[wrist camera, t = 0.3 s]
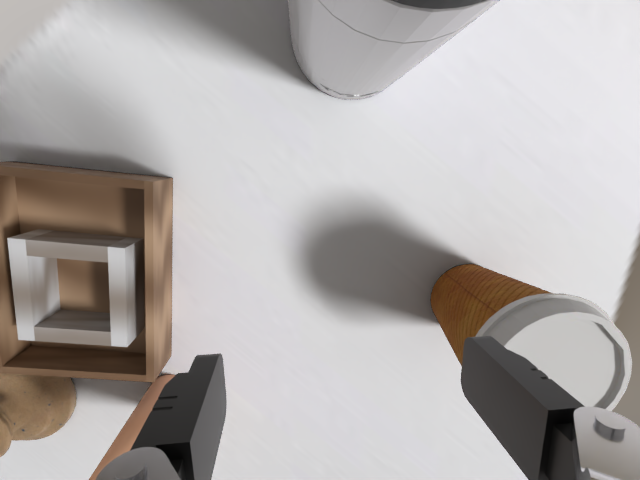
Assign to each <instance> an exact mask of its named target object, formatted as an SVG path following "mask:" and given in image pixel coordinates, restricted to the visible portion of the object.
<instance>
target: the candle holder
mask: <svg viewBox="0 0 640 480" xmlns="http://www.w3.org/2000/svg"><path fill="white" fill-rule="evenodd" d="M75 406H76V390H75V387H74V384H73V382H72V380H71V378H70V377H56V376H39V375H22V374H5V373H0V457H1V456H3V455H4V454H5V453H6V452H7V450H8V449H9V447H10V444H11V440H36V439H41V438H45V437H47V436H50V435H52V434H53V433H55V432H57V431H58V430H59V429H60V428H62V427H63V426H64V425H65V423H66V422H67V421H68V420H69V419H70V417H71V415H72V414H73V412H74V409H75Z"/></svg>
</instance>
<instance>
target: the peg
mask: <svg viewBox="0 0 640 480" xmlns="http://www.w3.org/2000/svg"><path fill="white" fill-rule="evenodd" d="M174 376H175V375H163V376H160V377H158V378H157V379H156V380H155V382H152V384H151V385H150V387H149V388H148V390H147V391H146V393H145V394H144V396H143V397H142V399H141V401H140V402H139V404H138V405H137V407H136V408H135V410H134V411H133V413H132V414H131V416H130V417H129V419H128V420H127V422H126V424H125V425H124V427H123V428H122V430H121V431H120V433H119V434H118V436H117V437H116V439H115V440H114V442H113V443H112V445H111V446H110V448H109V450H108V451H107V453H106V454H105V456H104V457H103V459H102V460H101V462H100V463H99V465H98V466H97V468H96V469H95V471H94V473H93V474H92V476H91V477H90V479H89V480H95V479H96V478H97V476H98V474H99V473H100V472H101V470H102V469H103V468H104V467H105V466H106V465H107V464H108V463H110V462H111V461H112V460H114V459H115V458H116V457H118V456H120V455H122V454H123V453H126V452H128V451H130V449H131V447H132V446H133V444H134V442H135V440H136V438H137V436H138V434H139V432H140V431H141V429H142V427H143V425H144V423H145V421H146V419H147V418H148V416H149V414H150V412H151V411H152V408H153V406H154V404H155V403H156V401H157V400H158V397H159V395H160V393H161V391H162V389H163V388H164V386H165V384H166V383H168V382H169V381H170V380H171V379H172V378H173V377H174Z"/></svg>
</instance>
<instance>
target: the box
mask: <svg viewBox="0 0 640 480" xmlns="http://www.w3.org/2000/svg"><path fill="white" fill-rule="evenodd" d="M172 213H173V178H168V177H158V176H149V175H139V174H130V173H120V172H110V171H101V170H91V169H81V168H72V167H62V166H52V165H43V164H33V163H23V162H14V161H13V162H0V373H5V374H22V375H39V376H56V377H73V378H90V379H107V380H124V381H141V382H155V380H156V378H157V377H158V375H159V374H160V372H161V371H162V369H163V368H164V366H165V365H166V363H167V361H168V360H169V358H170V357H171V338H172Z"/></svg>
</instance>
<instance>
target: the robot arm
mask: <svg viewBox="0 0 640 480" xmlns="http://www.w3.org/2000/svg"><path fill="white" fill-rule="evenodd" d="M498 1H500V0H288V8H289V21H290V31H291V40H292V47H293V51H294V54H295V58H296V60H297V62H298V64H299V66H300V68H301V70H302V72H303V73H304V74H305V76H306V77H307V78H308V79H309V81H310V82H311V83H312V84H314V85H315V86H316V87H317V88H318V89H320V90H321V91H323V92H325V93H327V94H329V95H331V96H333V97H337V98H341V99H345V100H358V99H363V98H368V97H371V96H373V95H375V94H377V93H379V92H381V91H383V90H384V89H385V88H387V87H388V86H389V85H391V84H392V83H393V82H395V81H396V80H398V79H399V78H401V77H402V76H403V75H404V74H406V73H407V72H408V71H410V70H411V69H412V68H414V67H415V66H416V65H417V64H419V63H420V62H421V61H423V60H424V59H425V58H426V57H428V56H429V55H430V54H432V53H433V52H434V51H436V50H437V49H438V48H439V47H441V46H442V45H443V44H445V43H446V42H447V41H448V40H450V39H451V38H452V37H454V36H455V35H456V34H458V33H459V32H460V31H461V30H463V29H464V28H465V27H467V26H468V25H469V24H470V23H472V22H473V21H474V20H476V19H477V18H478V17H479V16H480V15H482V14H483V13H484V12H485V11H487V10H488V9H489V8H491V7H492V6H493V5H495V4H496V3H497V2H498ZM461 385H462V389H463V392H464V395H465V397H466V398H467V400H468V401H469V403H470V404H471V405H472V406H473V408H474V409H475V410H476V412H477V413H478V414H479V416H480V417H481V418H482V419H483V421H484V422H485V423H486V425H487V426H488V427H489V429H490V430H491V431H492V432H493V434H494V435H495V436H496V438H497V439H498V440H499V442H500V443H501V444H502V446H503V447H504V448H505V449H506V451H507V452H508V453H509V455H510V456H511V457H512V459H513V460H514V461H515V462H516V464H517V465H518V466H519V468H520V469H521V470H522V472H523V473H524V474H525V475H526V477H527V478H528V479H529V480H640V427H639V426H637V425H636V424H635V423H633V422H632V421H630V420H629V419H627V418H625V417H624V416H621V415H619V414H617V413H614V412H612V411H609V410H606V409H603V408H598V407H590V406H586V407H585V406H584V405H583V404H581V403H580V402H579V401H578V400H576V399H575V398H574V397H573V396H572V395H570V394H569V393H568V392H567V391H565V390H564V389H563V388H562V387H560V386H559V385H558V384H557V383H556V382H554V381H553V380H552V379H549V378H548V376H547V375H546V374H545V373H543V372H542V371H541V370H538V368H537V367H536V366H535V365H533V364H532V363H531V362H530V361H529V360H527V359H526V358H525V357H523V356H521V355H518V354H516V353H514V352H512V351H510V350H507V349H506V348H505V347H504V346H503V345H501V344H500V343H499V342H498V341H497V340H495V339H494V338H493V337H491V336H479V337H467V338H466V339H465V341H464V348H463V360H462V372H461ZM225 416H226V389H225V378H224V367H223V358H222V355H221V354H210V355H197V356H196V357H195V359H194V361H193V364H192V366H191V368H190V370H189V372H188V373H178V374H177V375H175V376H174V377H173V378H172V379H171V380H170V381H169V382H168V383H166V384H165V386H164V388H163V389H162V391H161V393H160V395H159V397H158V400H157V401H156V403H155V404H154V406H153V408H152V411H151V412H150V414H149V416H148V418H147V419H146V421H145V423H144V425H143V427H142V429H141V431H140V432H139V434H138V436H137V438H136V440H135V442H134V444H133V446H132V447H131V449H130V451H128V452H126V453H123V454H122V455H120V456H118V457H116V458H115V459H114V460H112V461H111V462H110V463H108V464H107V465H106V466H105V467H104V468H103V469H102V470H101V472H100V473H99V474H98V476H97V478H96V479H95V480H211V477H212V473H213V469H214V464H215V460H216V456H217V451H218V447H219V443H220V438H221V434H222V430H223V425H224V421H225Z"/></svg>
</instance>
